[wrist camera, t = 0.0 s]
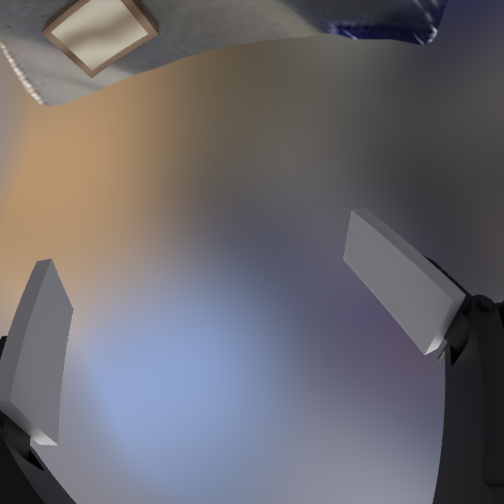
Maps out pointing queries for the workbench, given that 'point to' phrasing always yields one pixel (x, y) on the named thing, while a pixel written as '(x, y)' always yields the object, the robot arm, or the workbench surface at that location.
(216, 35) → the workbench surface
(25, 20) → the workbench surface
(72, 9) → the plinth
